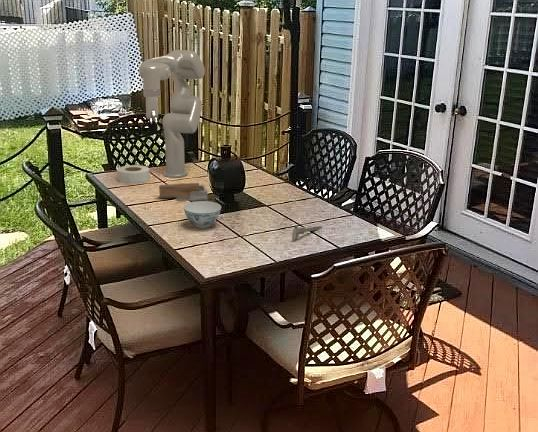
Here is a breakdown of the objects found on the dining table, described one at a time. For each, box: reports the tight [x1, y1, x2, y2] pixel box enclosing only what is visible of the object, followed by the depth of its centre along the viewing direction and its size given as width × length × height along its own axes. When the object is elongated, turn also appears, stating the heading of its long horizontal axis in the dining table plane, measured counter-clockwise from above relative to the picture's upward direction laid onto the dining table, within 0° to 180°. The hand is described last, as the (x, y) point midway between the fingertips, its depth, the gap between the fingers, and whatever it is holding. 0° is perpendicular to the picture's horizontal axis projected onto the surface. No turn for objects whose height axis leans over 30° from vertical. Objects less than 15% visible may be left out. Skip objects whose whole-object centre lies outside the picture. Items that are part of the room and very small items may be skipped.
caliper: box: [291, 224, 324, 242], centre depth 249 cm, size 20×1×6 cm, turn 143°
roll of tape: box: [116, 164, 151, 184], centre depth 317 cm, size 16×16×6 cm
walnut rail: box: [158, 182, 200, 199], centre depth 290 cm, size 4×18×5 cm, turn 104°
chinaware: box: [183, 200, 222, 229], centre depth 256 cm, size 15×15×8 cm
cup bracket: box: [175, 184, 209, 202], centre depth 292 cm, size 11×14×4 cm
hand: (153, 130), depth 293 cm, fingers open, 9 cm apart
